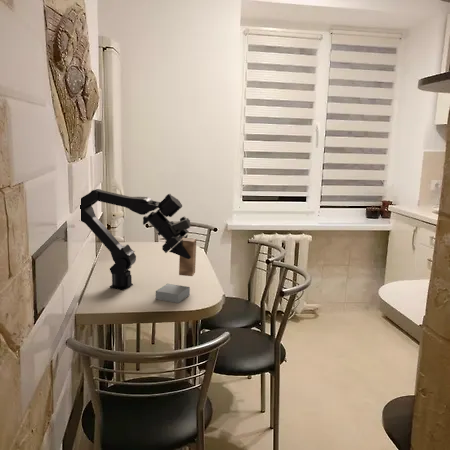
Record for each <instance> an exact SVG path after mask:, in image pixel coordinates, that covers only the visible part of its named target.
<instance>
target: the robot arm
mask: <svg viewBox="0 0 450 450" xmlns="http://www.w3.org/2000/svg"><path fill="white" fill-rule="evenodd" d="M80 198H81V205H80V209H81V221H80V222H82V223H84V224H85V225H86V226H87V227H88V229H89V230H90V231H91V232H92V233H93V234H94V236H96V237H97V238H98V239H99V241H100V242H101V243H102V244H103V245H104V247H105V248H107V250H108V251H109V252H110V255H111V258H112V260H113V262H114V264H113V265H112V266H111V267H110V268H109V272H110V274H111V285H110V286H109V288H111V289H116V290H117V289H118V290H122V291H123V290H126V289H128V288H130V287H132V286H134V284H133V283H132V282H133V281H132V274H131V273H132V272H131V270H130V269H132V266H133V265H135V263H136V261H137V255H136V254H135V252H136V251H135V250H133V249H132V247H130V245H129V244H125V245H123V244H121V243H120V242H119V241H118V239H116V237H114V235H113V234H112V232H111V231H109V229H108V228H107V227H106V226H105V225H104V224H103V223H102V221H100V219H99V218H98V217H97V215H96V214H95V210H94V208H93V205H95V204H96V203H98V202H101V203H106V204H108V205H114V206H119V207H123V208H126V209H129V210H130V211H131V212H133V213H136V214H138V215H140V216H141V215H142V216H143V215H145V216H143V217H142V220H143V221H142V225H146V224H148V223H149V224H150V225H151V226H152V227H153V229H155V230H156V231H157V235H158V236H161V237H162V238H163V239H164V240H165V241H164V244H163V245H162V246H161V247H162V248H161V249H162V251H163V252H164V253H165V254H167V253H168V252H169V253H173V254H175V255H178V256H179V257H180V256H182V257H184V258H187V259H190V258H191V257H190V255H189V254H188V252H187V251H186V249H185V248H184V246H183V240H181V239H182V238H188V236H189V235H188V233H189V229H190V228H191V227H192V224H191V219H189V217H186V216H182V217H180V219H179V221H178V222H174V221H170V220H169V219H168V217H169V218H172V217H173V216H174V215H175V214H176V213H177V212H178V211H180V210H181V208H182V207H183V204H182V202H181V201H180V200H179V199H178V198H176V197H175V196H173V195H172V194H171V193H168V194H167V195H165V197H164V198H163V199H162V200H160V201H157V200H153V199H152V198H151V197H149V196H129V195H124V194H120V193H115V192H111V191H107V190H102V189H100V188H96V189H92V190H90V191H89V193H86V194H85V195H83V196H82V197H80ZM155 210H156V211H155ZM148 213H149V214H148ZM147 214H148V215H147ZM146 215H147V216H146ZM180 240H181V241H180Z"/></svg>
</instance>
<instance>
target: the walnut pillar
mask: <svg viewBox="0 0 450 450" xmlns="http://www.w3.org/2000/svg"><path fill="white" fill-rule="evenodd" d="M181 240H183V246H184V248H185V249H186V251H187V252H188V254H189V255H190V257H191V258H190V259H187V258H184V257H182V256H180V255H179V264H178V265H179V266H178V269H179V270H178V276H186V277H193V276H194V275H195V273H196V257H197V238H194V237H193V238H192V237H187V238H182V239H181ZM181 240H180V241H181Z"/></svg>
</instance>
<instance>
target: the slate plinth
mask: <svg viewBox="0 0 450 450" xmlns="http://www.w3.org/2000/svg"><path fill="white" fill-rule="evenodd" d="M190 292H191V289H190V286H185V285H179V284H175V283H166V284H165V285H163V286H161V287H160V288H158V289H157V290H155V300H160V301H164V302H171V303H176V304H179V303H181V302H182V301H184V300H185V299H186V298H187V297H189V296H190Z"/></svg>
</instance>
